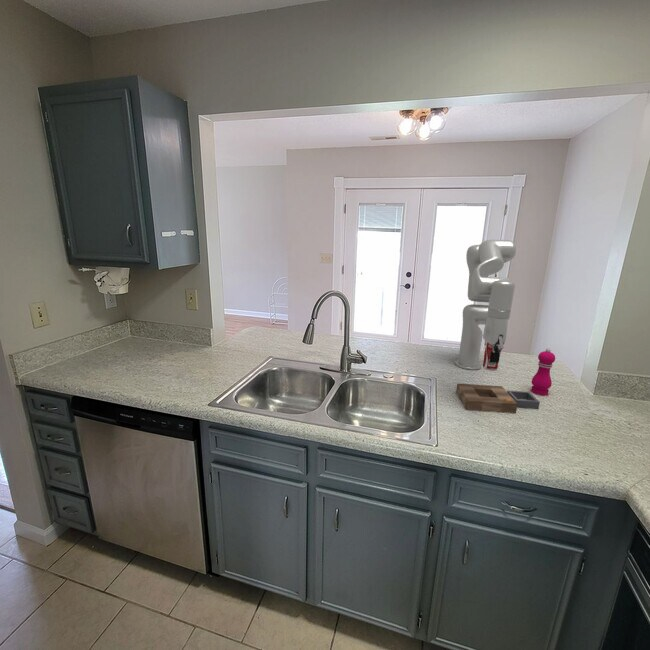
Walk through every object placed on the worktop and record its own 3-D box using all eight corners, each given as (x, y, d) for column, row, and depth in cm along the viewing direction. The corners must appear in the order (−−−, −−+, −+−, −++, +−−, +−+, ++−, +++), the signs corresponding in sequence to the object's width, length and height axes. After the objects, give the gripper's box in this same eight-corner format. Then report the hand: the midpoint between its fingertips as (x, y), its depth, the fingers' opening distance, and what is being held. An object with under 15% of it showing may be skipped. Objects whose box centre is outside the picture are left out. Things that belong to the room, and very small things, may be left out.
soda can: (484, 364, 135) (489, 336, 132) (498, 368, 132) (503, 338, 129) (480, 368, 131) (485, 339, 128) (495, 372, 128) (500, 342, 125)
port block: (456, 392, 144) (457, 382, 143) (500, 394, 142) (501, 385, 141) (466, 409, 129) (468, 399, 128) (515, 413, 128) (517, 403, 127)
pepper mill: (525, 389, 147) (534, 346, 142) (537, 387, 150) (546, 344, 144) (541, 397, 141) (550, 352, 135) (553, 394, 143) (563, 350, 138)
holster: (506, 397, 140) (507, 390, 139) (527, 398, 139) (529, 391, 139) (515, 407, 132) (516, 400, 131) (538, 408, 131) (539, 401, 130)
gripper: (480, 308, 134) (474, 351, 139) (496, 318, 118) (489, 367, 123) (500, 309, 134) (493, 352, 139) (519, 319, 117) (510, 368, 122)
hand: (491, 358), depth 131 cm, fingers closed on soda can, 5 cm apart
